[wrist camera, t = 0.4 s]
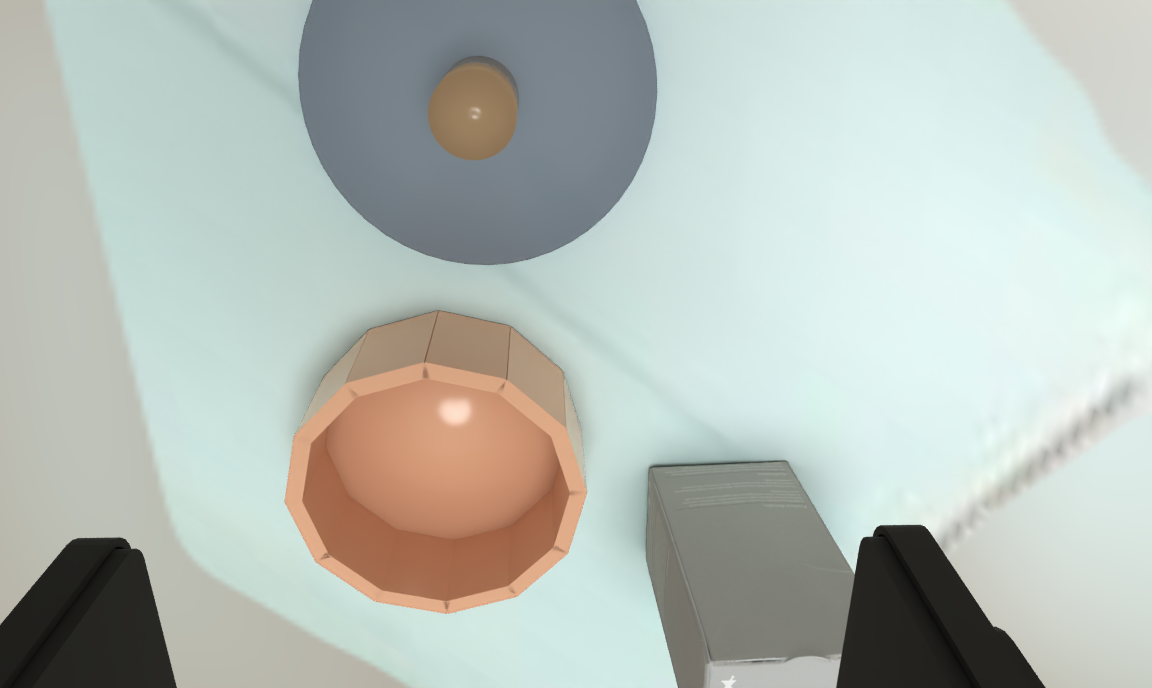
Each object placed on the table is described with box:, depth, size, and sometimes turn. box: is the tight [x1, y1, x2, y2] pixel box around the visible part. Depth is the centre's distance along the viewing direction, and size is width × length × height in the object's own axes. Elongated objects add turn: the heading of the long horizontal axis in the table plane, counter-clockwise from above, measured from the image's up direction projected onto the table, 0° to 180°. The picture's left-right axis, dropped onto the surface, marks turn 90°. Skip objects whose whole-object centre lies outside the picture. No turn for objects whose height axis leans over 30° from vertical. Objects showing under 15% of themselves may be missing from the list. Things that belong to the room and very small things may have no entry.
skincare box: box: [646, 461, 855, 688], centre depth 42 cm, size 8×7×16 cm
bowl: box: [285, 311, 587, 614], centre depth 44 cm, size 14×14×6 cm
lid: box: [298, 0, 657, 265], centre depth 37 cm, size 16×16×6 cm
